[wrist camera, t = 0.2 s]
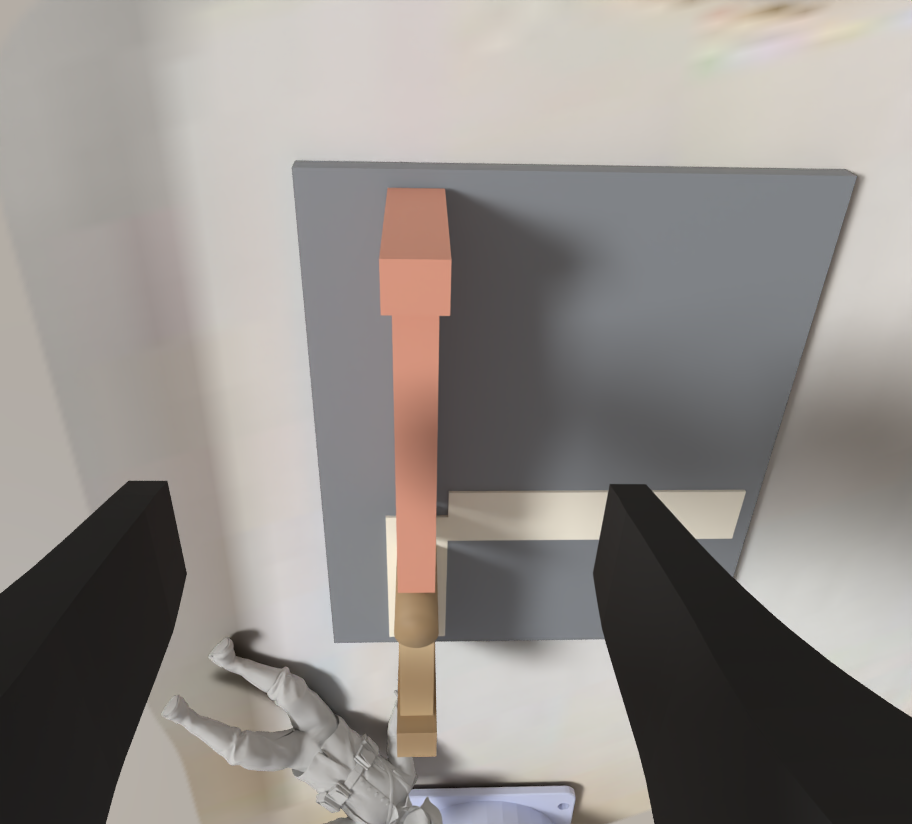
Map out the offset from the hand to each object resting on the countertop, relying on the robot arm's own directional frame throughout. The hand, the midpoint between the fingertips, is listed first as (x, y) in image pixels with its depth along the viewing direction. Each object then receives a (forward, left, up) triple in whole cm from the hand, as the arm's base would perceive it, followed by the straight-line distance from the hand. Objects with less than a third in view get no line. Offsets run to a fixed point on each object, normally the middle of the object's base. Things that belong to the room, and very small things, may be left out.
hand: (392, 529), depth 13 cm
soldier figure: (-19, +3, -10) cm, 21 cm away
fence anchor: (-11, 0, -9) cm, 14 cm away
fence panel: (-2, 0, -9) cm, 9 cm away
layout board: (-5, -4, -10) cm, 12 cm away
